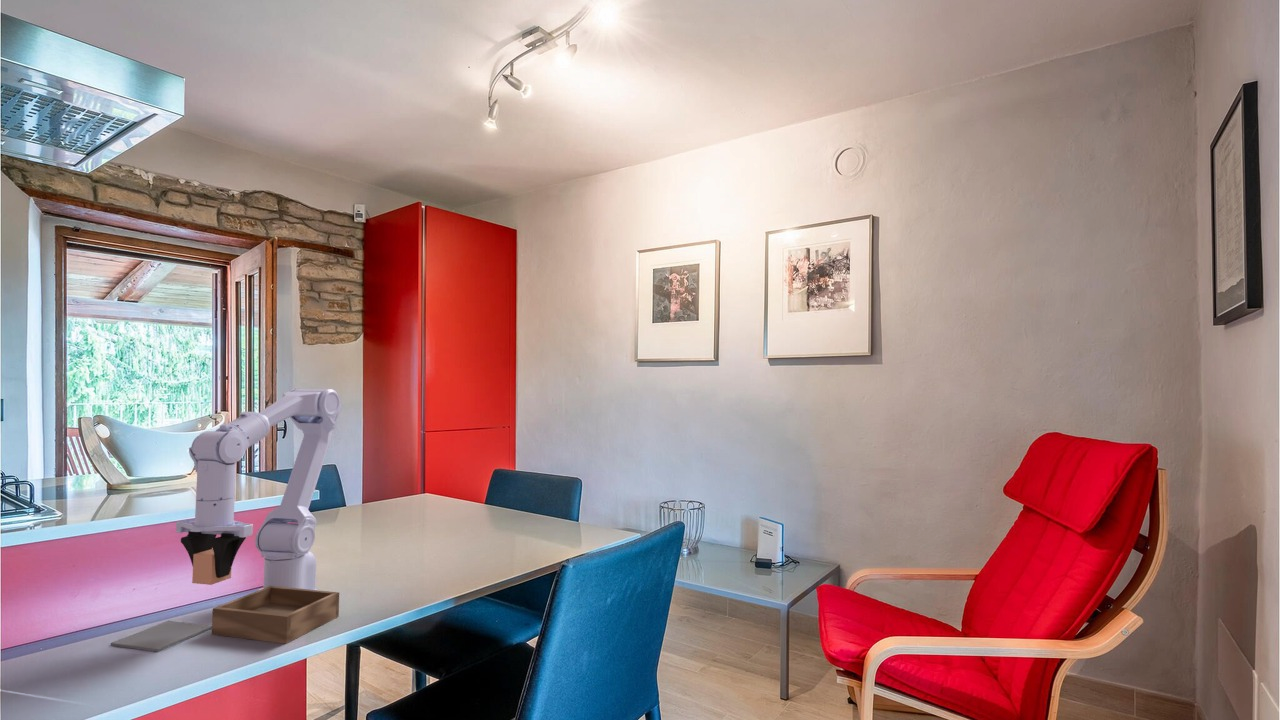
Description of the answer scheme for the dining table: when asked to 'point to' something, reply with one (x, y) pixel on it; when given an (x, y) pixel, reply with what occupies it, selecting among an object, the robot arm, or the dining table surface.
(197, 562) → the terracotta block
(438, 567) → the dining table surface
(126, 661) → the dining table surface
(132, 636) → the slate mat
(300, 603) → the walnut box
